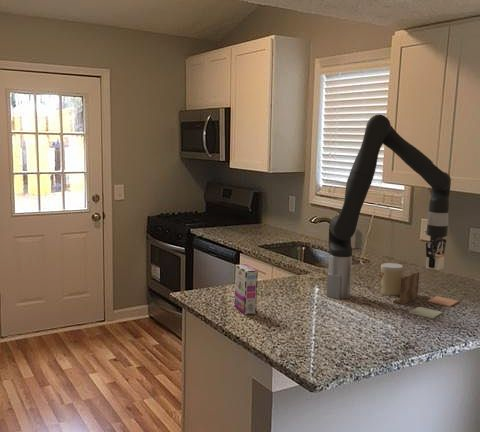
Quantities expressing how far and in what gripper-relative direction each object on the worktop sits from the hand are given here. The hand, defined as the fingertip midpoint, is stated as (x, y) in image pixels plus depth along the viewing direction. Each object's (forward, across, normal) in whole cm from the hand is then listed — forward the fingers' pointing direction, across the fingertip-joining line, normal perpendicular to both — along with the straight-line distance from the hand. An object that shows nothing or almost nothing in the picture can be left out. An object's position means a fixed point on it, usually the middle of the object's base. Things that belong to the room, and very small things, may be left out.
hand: (434, 266), depth 204 cm
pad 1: (+16, -12, -3) cm, 20 cm away
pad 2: (+16, +7, -2) cm, 17 cm away
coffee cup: (+16, +3, +19) cm, 25 cm away
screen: (+16, -2, +10) cm, 19 cm away
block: (0, 0, 0) cm, 0 cm away
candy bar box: (+15, -59, +46) cm, 76 cm away
